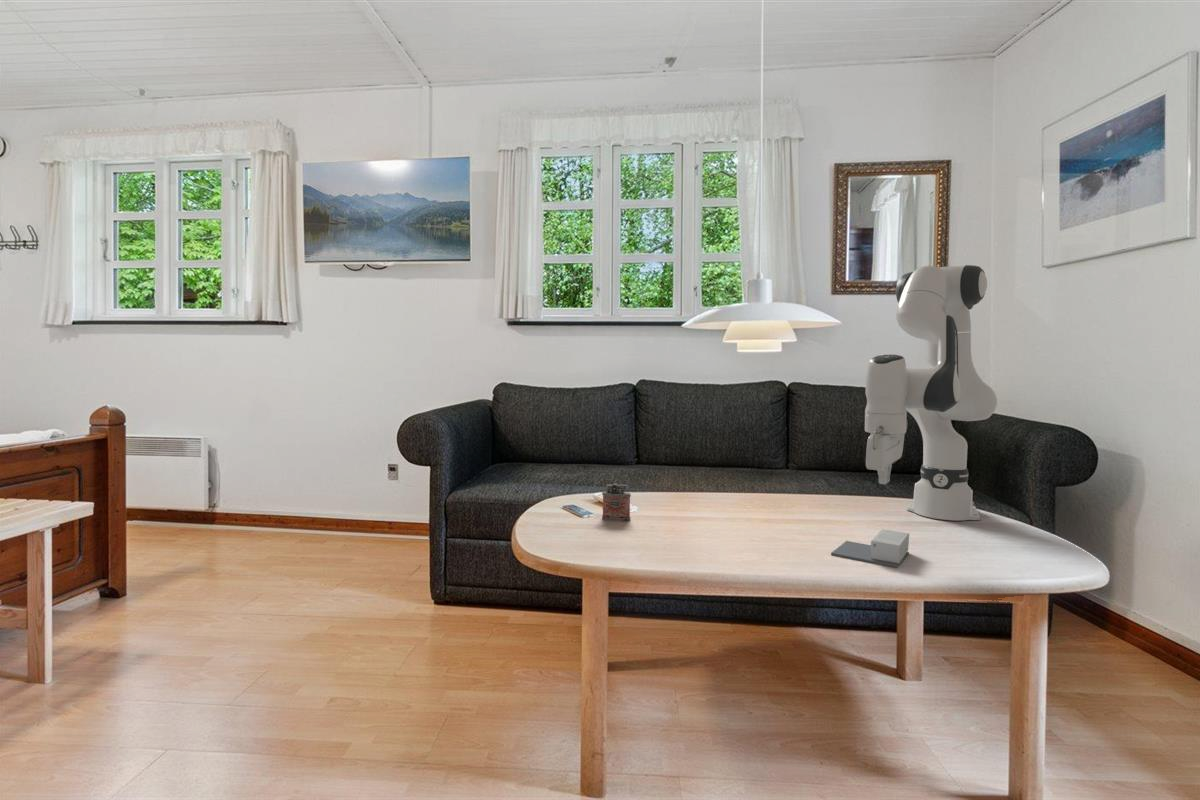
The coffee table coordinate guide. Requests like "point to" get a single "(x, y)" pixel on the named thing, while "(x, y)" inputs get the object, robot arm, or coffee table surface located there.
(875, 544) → the skincare box
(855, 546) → the mat
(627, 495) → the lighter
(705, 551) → the coffee table surface
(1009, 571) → the coffee table surface
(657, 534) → the coffee table surface
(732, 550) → the coffee table surface
